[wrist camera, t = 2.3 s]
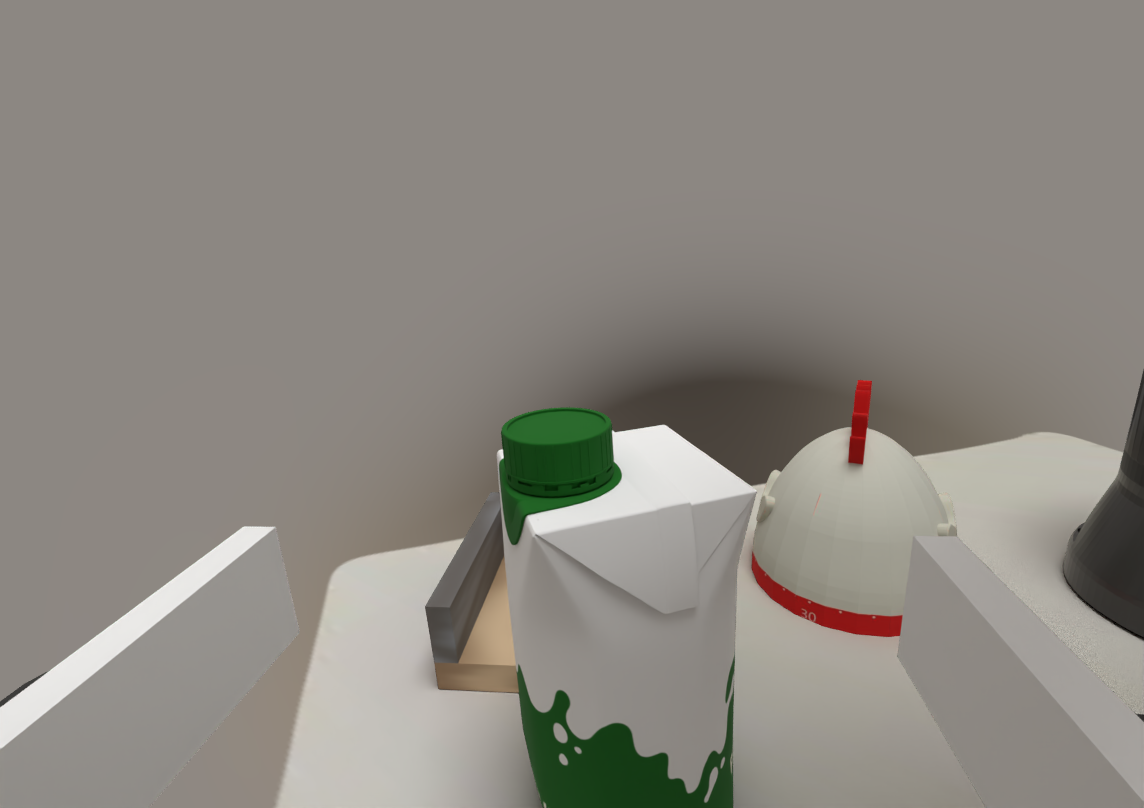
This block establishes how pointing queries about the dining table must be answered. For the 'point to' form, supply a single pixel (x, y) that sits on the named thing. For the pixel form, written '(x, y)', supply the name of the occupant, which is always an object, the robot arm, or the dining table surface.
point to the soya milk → (622, 609)
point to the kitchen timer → (847, 527)
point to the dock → (474, 612)
